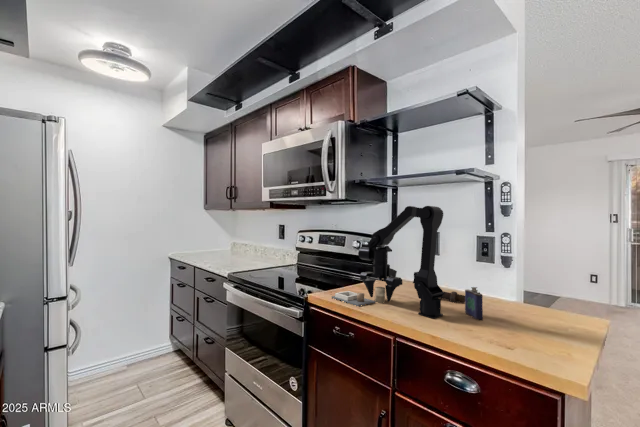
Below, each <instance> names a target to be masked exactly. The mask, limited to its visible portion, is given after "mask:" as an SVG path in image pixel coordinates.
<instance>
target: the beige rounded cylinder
mask: <svg viewBox="0 0 640 427" xmlns="http://www.w3.org/2000/svg"><path fill="white" fill-rule="evenodd" d="M374 292H375V293H374V294H375V295H374V301H375V303H376V302H378V303H377V304H384V303H383V302H385V303H386V288H385V286H375V289H374Z"/></svg>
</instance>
